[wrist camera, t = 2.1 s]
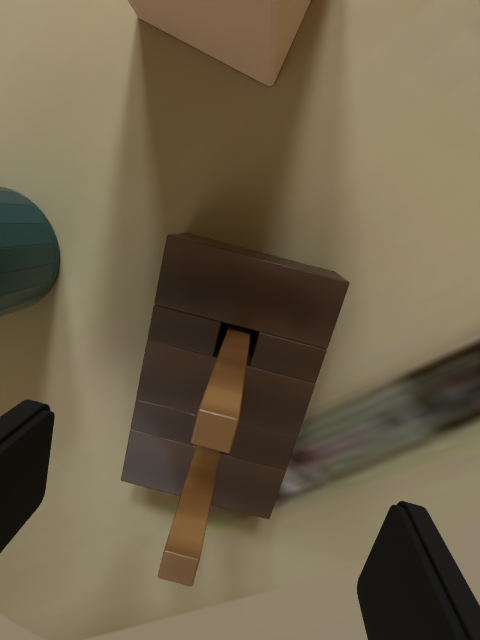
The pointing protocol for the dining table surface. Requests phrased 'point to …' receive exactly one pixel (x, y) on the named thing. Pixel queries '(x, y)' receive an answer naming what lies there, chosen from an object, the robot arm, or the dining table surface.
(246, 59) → the soap dispenser
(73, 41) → the dining table surface
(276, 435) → the stirrer stand
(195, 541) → the stirrer
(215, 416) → the stirrer
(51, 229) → the mug
